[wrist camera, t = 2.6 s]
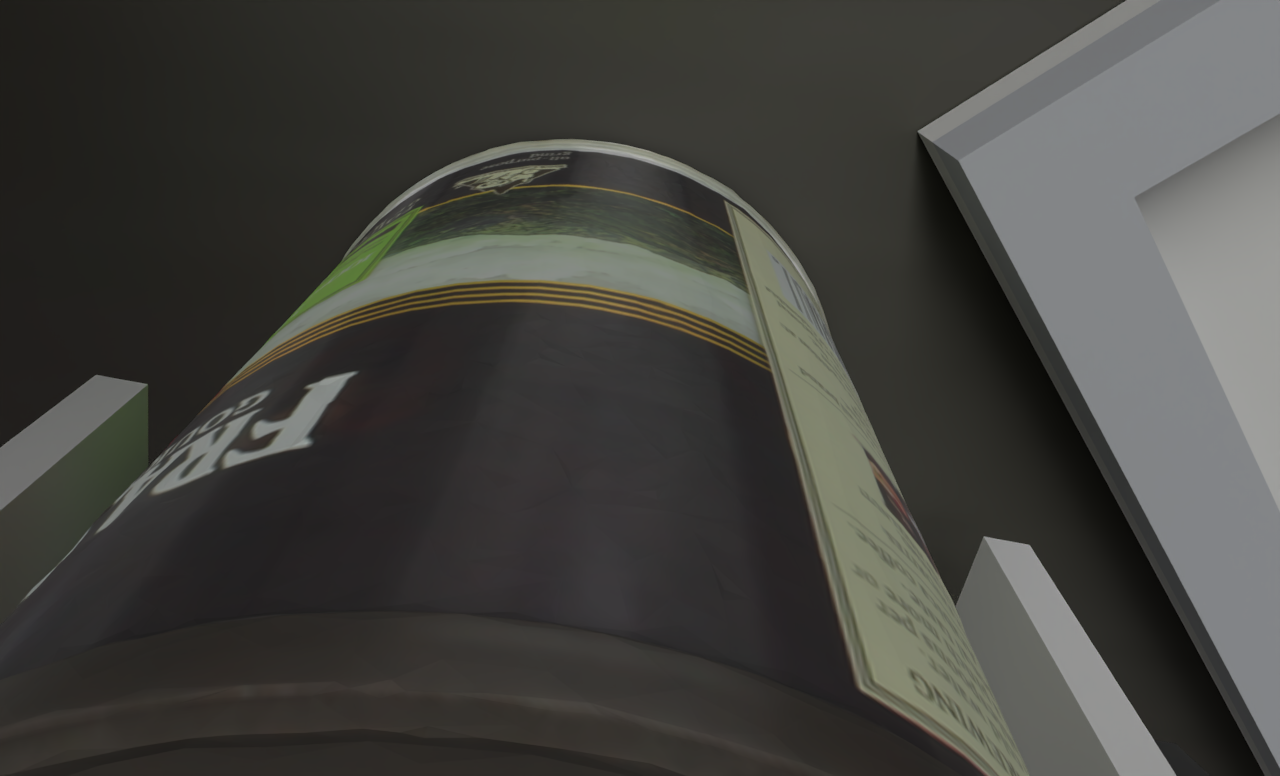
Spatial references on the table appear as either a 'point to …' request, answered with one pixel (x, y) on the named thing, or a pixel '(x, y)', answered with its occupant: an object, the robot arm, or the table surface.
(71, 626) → the coffee can
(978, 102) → the plate
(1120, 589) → the table surface
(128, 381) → the robot arm
